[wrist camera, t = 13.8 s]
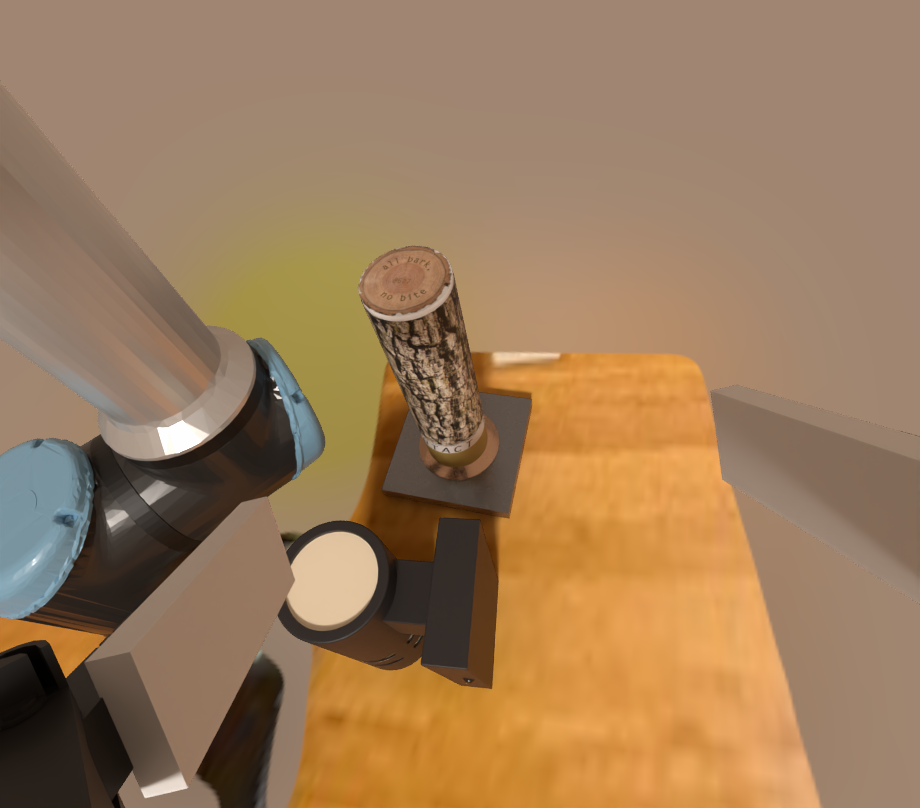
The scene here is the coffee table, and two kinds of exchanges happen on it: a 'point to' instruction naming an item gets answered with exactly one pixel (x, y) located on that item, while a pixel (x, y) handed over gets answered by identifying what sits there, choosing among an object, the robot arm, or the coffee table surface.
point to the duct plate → (474, 484)
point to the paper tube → (427, 349)
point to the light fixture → (397, 600)
